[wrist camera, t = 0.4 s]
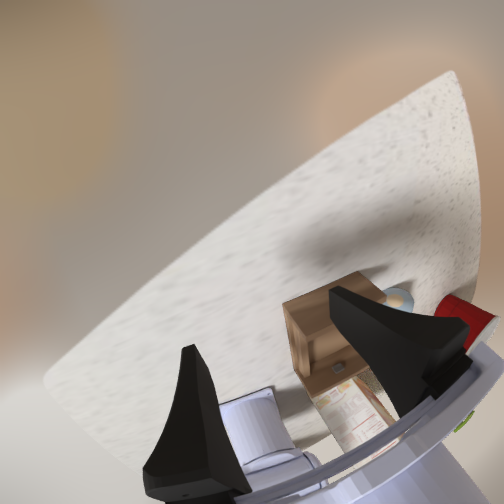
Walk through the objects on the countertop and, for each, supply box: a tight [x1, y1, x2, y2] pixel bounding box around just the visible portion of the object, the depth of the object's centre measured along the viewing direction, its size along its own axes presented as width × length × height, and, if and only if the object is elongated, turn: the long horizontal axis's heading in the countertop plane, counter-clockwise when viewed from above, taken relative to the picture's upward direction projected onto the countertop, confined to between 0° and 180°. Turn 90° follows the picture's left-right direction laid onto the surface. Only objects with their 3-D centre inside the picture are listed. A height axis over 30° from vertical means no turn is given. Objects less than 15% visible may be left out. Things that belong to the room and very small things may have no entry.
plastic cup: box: [434, 294, 501, 356], centre depth 36 cm, size 11×11×12 cm
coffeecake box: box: [307, 376, 405, 470], centre depth 31 cm, size 15×7×20 cm, turn 39°
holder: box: [282, 271, 387, 399], centre depth 27 cm, size 12×9×5 cm
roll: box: [382, 288, 414, 313], centre depth 31 cm, size 8×5×5 cm, turn 12°
